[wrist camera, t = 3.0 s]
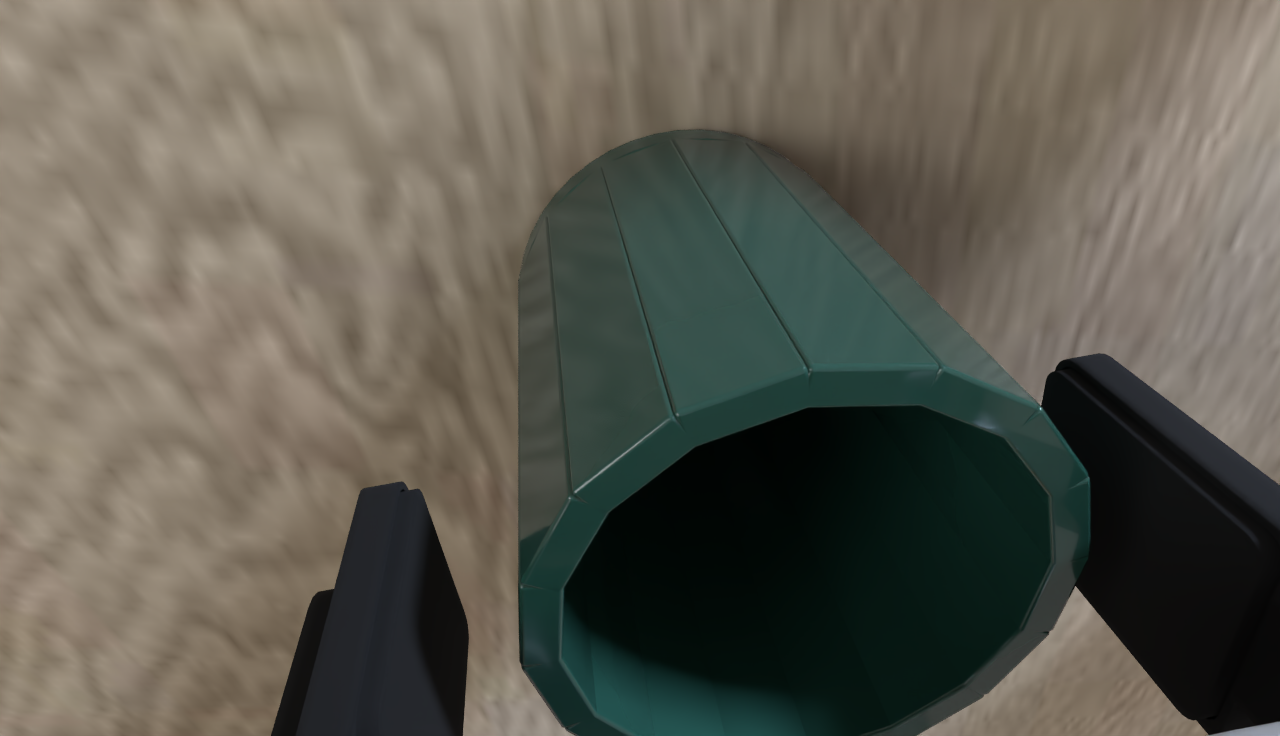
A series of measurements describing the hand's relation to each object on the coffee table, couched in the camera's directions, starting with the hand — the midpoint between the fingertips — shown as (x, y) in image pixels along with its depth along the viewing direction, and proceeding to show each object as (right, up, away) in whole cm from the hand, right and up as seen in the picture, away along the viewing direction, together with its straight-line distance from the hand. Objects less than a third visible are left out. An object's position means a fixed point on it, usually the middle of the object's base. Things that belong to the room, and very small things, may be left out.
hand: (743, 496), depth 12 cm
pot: (-1, +4, +5) cm, 6 cm away
